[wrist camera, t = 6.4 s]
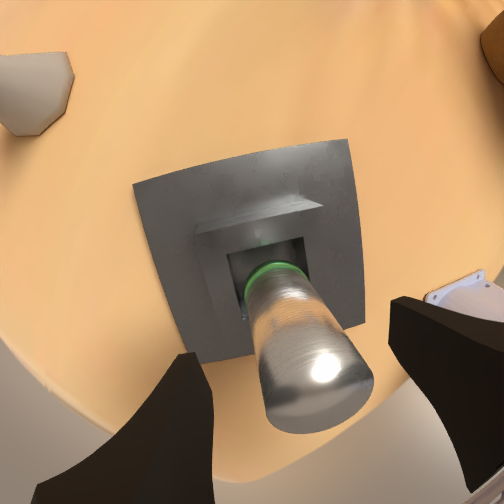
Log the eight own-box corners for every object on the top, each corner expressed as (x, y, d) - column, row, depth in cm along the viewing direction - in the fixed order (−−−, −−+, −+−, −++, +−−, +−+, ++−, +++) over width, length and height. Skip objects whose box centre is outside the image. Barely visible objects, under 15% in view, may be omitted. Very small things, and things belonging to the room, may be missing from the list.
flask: (13, 75, 12) (-62, 54, 3) (78, 40, 13) (7, -12, 3) (11, 150, 14) (-77, 156, 5) (76, 119, 15) (-21, 98, 5)
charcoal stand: (341, 140, 17) (369, 134, 13) (360, 316, 21) (382, 342, 17) (137, 183, 17) (114, 188, 13) (194, 357, 21) (190, 391, 17)
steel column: (302, 252, 14) (379, 340, 6) (310, 309, 15) (371, 414, 7) (237, 268, 13) (252, 377, 6) (251, 324, 14) (273, 444, 7)
